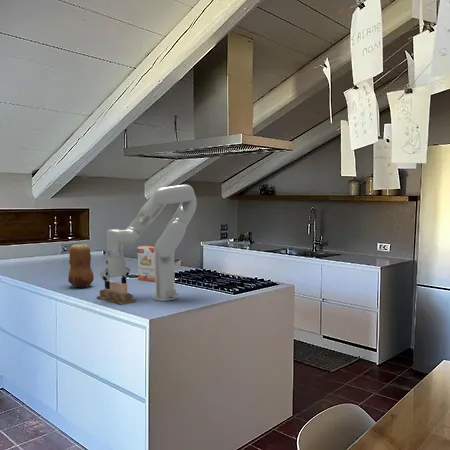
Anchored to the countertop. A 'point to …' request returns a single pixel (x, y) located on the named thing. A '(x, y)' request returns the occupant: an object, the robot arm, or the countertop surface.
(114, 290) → the clay strip
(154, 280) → the cracker box
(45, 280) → the countertop surface
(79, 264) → the butternut squash
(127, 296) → the slot rack
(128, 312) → the countertop surface
